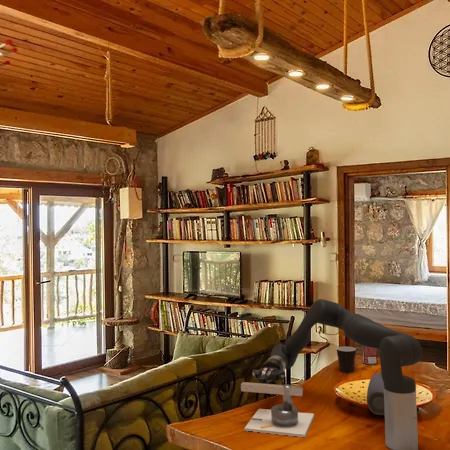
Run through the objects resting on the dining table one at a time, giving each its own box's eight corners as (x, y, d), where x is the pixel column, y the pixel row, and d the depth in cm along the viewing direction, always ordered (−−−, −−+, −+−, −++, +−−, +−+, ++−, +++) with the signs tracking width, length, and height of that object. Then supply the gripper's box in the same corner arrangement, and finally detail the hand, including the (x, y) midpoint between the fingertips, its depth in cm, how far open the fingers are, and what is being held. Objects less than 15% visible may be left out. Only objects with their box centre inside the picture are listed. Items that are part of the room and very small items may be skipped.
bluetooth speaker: (394, 420, 172) (393, 391, 172) (366, 417, 175) (365, 389, 175) (394, 397, 194) (394, 371, 194) (369, 395, 197) (368, 370, 197)
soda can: (378, 365, 237) (377, 339, 237) (363, 365, 238) (362, 339, 238) (377, 361, 243) (376, 336, 243) (362, 361, 245) (361, 336, 245)
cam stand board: (314, 416, 178) (313, 413, 178) (304, 437, 161) (304, 434, 161) (259, 411, 184) (258, 408, 184) (244, 431, 167) (244, 427, 167)
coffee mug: (342, 367, 236) (341, 345, 236) (359, 370, 231) (359, 348, 231) (330, 373, 227) (329, 351, 227) (348, 376, 222) (347, 353, 222)
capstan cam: (305, 417, 173) (304, 382, 173) (300, 427, 165) (299, 391, 165) (246, 411, 180) (245, 378, 180) (239, 421, 172) (237, 386, 171)
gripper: (257, 356, 197) (244, 369, 181) (290, 359, 193) (280, 372, 176) (257, 376, 197) (244, 390, 181) (291, 378, 193) (281, 393, 176)
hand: (262, 381), depth 179 cm, fingers closed
